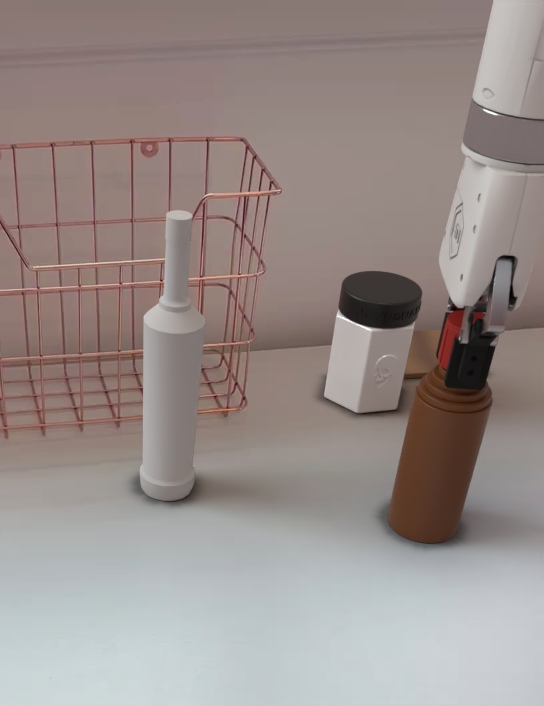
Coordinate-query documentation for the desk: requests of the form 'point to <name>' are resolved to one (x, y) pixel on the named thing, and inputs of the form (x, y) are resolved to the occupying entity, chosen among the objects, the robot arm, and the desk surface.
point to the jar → (372, 340)
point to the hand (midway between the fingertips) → (459, 371)
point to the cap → (452, 334)
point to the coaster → (422, 353)
